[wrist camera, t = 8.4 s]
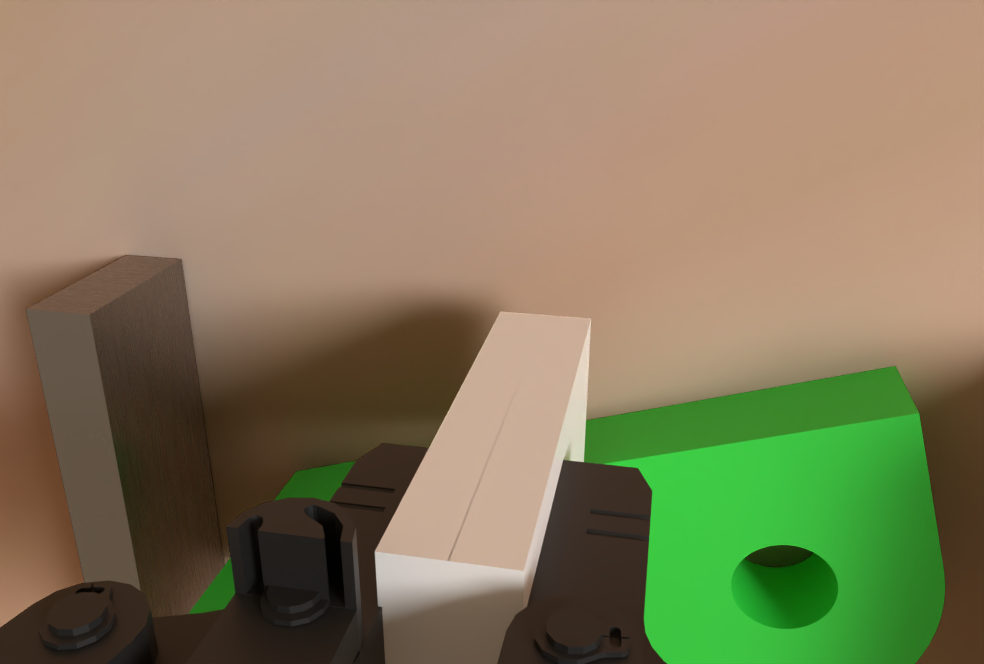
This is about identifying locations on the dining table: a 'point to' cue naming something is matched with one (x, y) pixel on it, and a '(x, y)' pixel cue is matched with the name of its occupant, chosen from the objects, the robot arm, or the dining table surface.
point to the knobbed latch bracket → (131, 429)
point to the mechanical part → (768, 523)
